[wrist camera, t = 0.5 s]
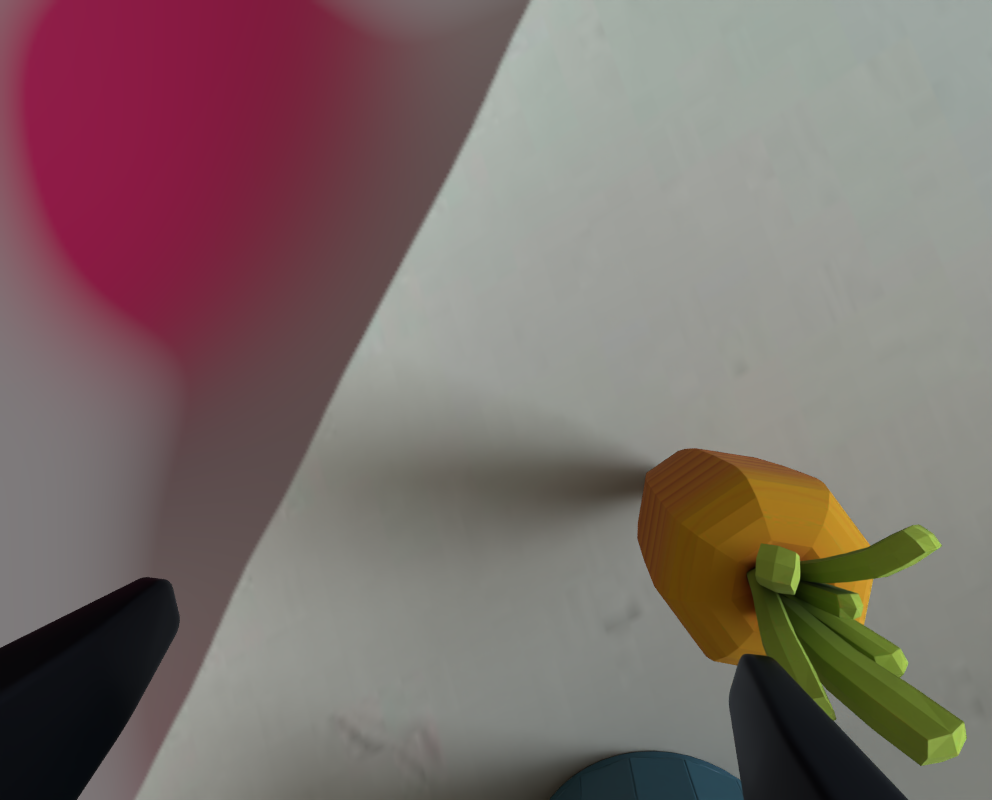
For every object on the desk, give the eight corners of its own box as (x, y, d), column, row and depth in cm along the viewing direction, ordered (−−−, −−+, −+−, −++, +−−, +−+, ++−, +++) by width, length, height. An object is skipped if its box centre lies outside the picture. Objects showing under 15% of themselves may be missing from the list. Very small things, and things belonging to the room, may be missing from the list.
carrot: (597, 436, 24) (677, 561, 9) (717, 408, 23) (1025, 489, 8) (625, 551, 24) (751, 866, 9) (745, 525, 23) (1095, 816, 8)
